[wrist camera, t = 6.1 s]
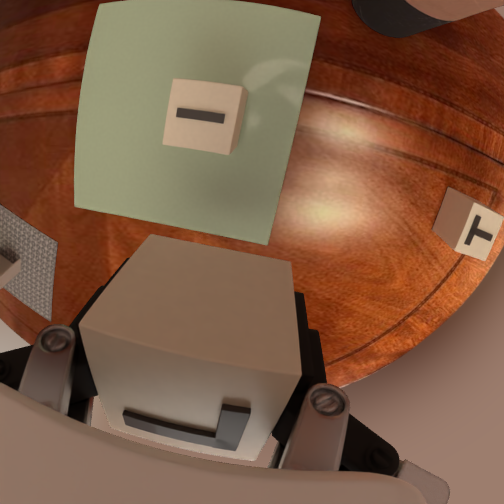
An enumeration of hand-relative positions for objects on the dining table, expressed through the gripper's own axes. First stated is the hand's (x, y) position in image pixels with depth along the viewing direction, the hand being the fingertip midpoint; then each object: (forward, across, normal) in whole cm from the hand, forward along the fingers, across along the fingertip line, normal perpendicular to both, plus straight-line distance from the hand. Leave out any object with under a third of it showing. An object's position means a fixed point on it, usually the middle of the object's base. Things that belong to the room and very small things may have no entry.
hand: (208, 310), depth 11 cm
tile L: (0, 0, 0) cm, 0 cm away
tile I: (+17, +4, -6) cm, 19 cm away
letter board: (+18, +7, -6) cm, 20 cm away
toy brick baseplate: (+18, +34, +14) cm, 41 cm away
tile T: (+18, -22, -3) cm, 29 cm away
